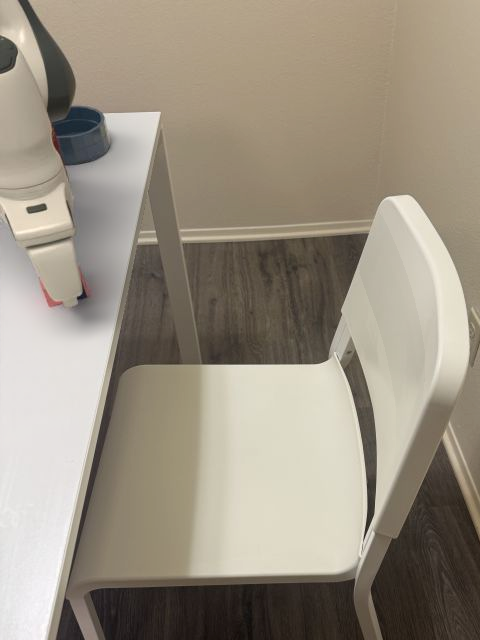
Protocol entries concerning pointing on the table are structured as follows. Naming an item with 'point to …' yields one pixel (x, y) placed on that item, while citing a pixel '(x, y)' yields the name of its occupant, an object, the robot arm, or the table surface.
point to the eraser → (52, 302)
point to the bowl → (82, 135)
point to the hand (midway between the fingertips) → (64, 284)
